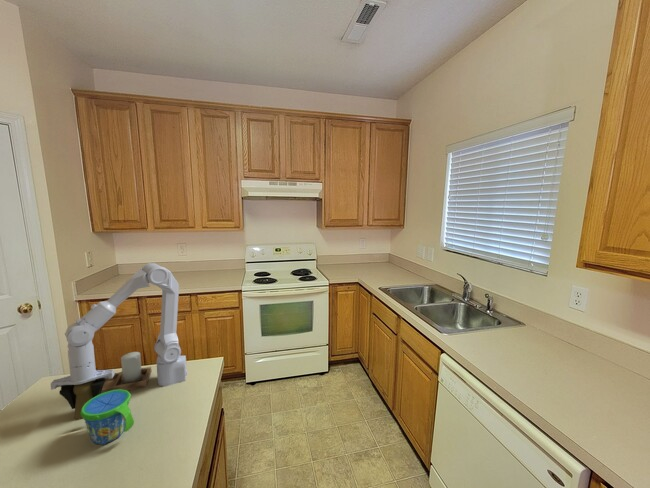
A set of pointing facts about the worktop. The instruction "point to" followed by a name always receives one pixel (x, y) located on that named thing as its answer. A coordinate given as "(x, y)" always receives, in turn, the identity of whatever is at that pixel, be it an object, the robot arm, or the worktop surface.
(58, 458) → the worktop surface
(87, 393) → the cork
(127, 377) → the salt shaker
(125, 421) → the snack cup
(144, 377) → the caddy
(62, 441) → the worktop surface
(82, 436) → the worktop surface
